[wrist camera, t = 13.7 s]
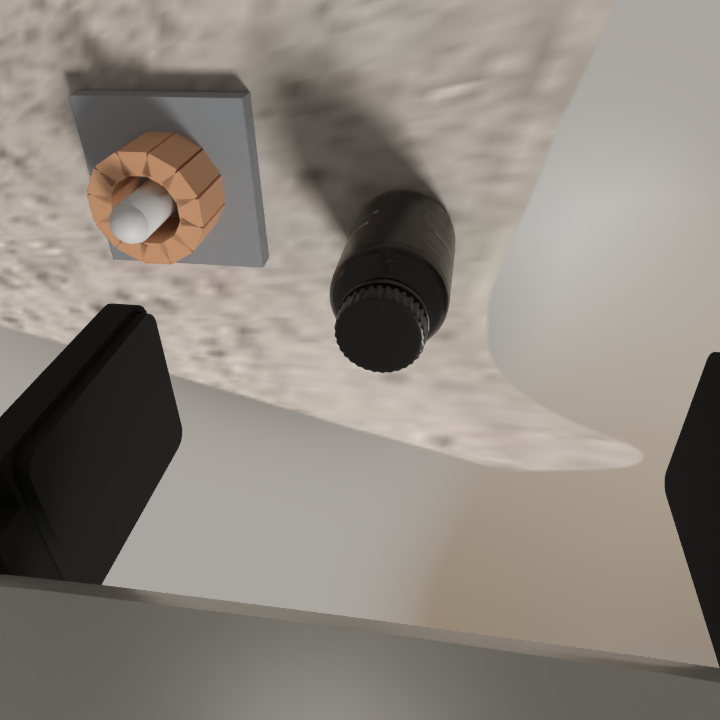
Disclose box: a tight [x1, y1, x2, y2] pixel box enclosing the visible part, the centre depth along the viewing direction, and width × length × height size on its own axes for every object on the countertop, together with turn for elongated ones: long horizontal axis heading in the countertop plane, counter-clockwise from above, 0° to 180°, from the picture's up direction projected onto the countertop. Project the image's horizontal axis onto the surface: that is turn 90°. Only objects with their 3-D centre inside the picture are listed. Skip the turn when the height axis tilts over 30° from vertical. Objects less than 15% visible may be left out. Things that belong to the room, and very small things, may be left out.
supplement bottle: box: [330, 191, 455, 373], centre depth 37 cm, size 7×7×12 cm
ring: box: [87, 131, 225, 264], centre depth 39 cm, size 7×7×4 cm
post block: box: [69, 90, 269, 267], centre depth 39 cm, size 11×11×8 cm
